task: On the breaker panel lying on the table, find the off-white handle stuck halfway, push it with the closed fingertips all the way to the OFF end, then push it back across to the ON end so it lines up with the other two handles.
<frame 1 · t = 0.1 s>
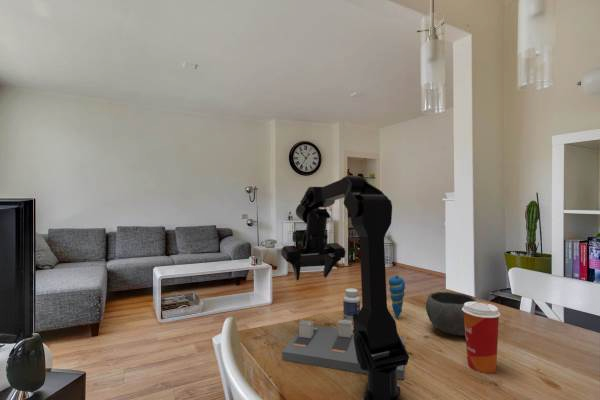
hand: (311, 278, 93), 15 cm above the table, tool pointing down, fingers open, 9 cm apart
breaker panel: (346, 351, 79), on the table
middle handle: (345, 328, 83), point 4 cm above the table, slide at 3.5 cm
bowl: (453, 332, 91), on the table
ornament: (397, 318, 101), on the table
tripped handle: (306, 329, 83), point 4 cm above the table, slide at 0.0 cm
pill bottle: (351, 320, 100), on the table
paper cup: (481, 367, 71), on the table
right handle: (383, 333, 80), point 4 cm above the table, slide at 3.5 cm
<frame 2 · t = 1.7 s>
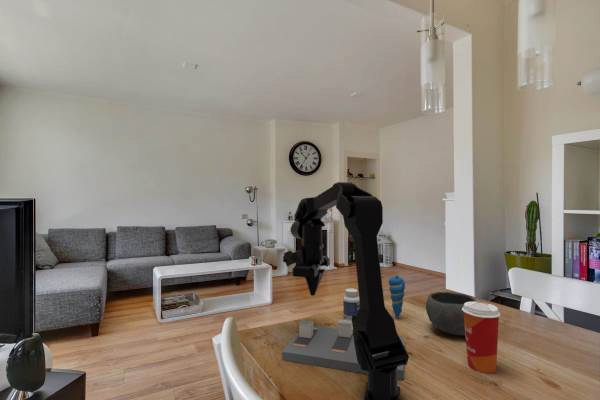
hand: (312, 295, 89), 11 cm above the table, tool pointing down, fingers closed
nothing on the table moved.
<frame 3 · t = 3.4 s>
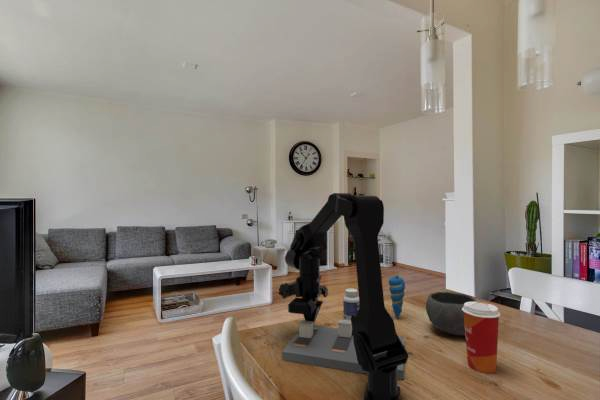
hand: (310, 329, 86), 3 cm above the table, tool pointing down, fingers closed
tripped handle: (306, 329, 83), point 4 cm above the table, slide at 0.0 cm, touching gripper
everything else where it was.
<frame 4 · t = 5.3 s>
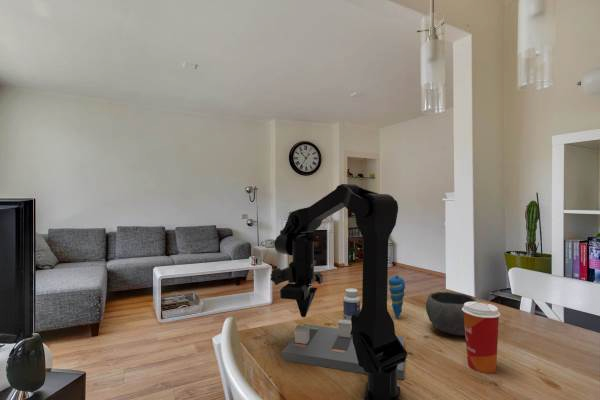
hand: (303, 316, 82), 8 cm above the table, tool pointing down, fingers closed
tripped handle: (302, 334, 80), point 4 cm above the table, slide at -3.6 cm
everything else where it was.
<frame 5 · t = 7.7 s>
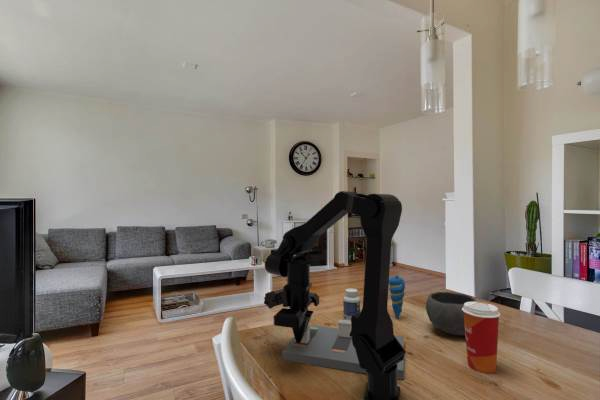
hand: (298, 342, 77), 3 cm above the table, tool pointing down, fingers closed
tripped handle: (302, 333, 80), point 4 cm above the table, slide at -3.2 cm, touching gripper
everything else where it was.
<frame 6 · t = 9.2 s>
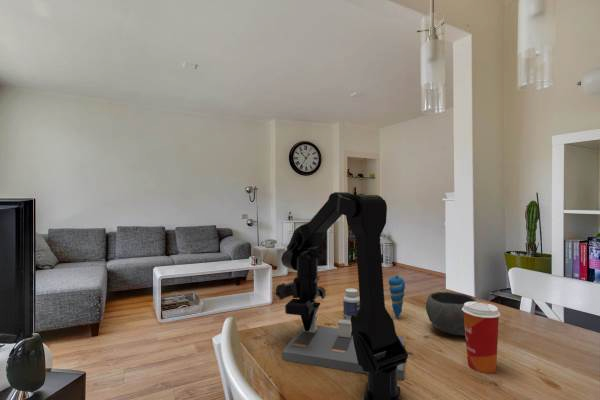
hand: (307, 331, 84), 3 cm above the table, tool pointing down, fingers closed
tripped handle: (310, 323, 87), point 4 cm above the table, slide at 3.8 cm, touching gripper
everything else where it was.
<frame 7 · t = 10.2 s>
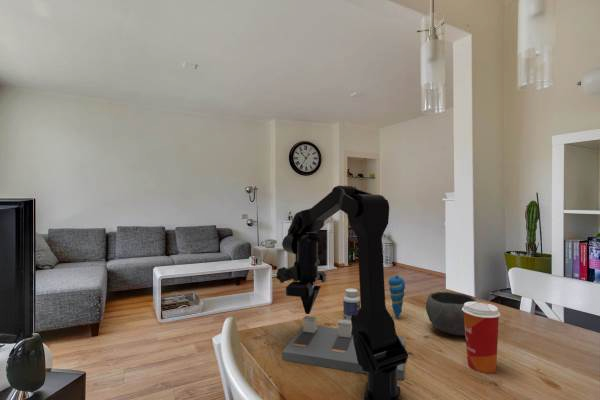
hand: (307, 313, 85), 7 cm above the table, tool pointing down, fingers closed
tripped handle: (310, 324, 87), point 4 cm above the table, slide at 3.6 cm
everything else where it was.
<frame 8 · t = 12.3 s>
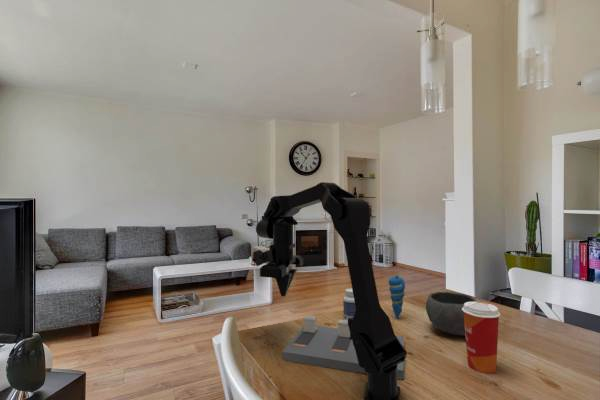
hand: (283, 296, 87), 12 cm above the table, tool pointing down, fingers closed
nothing on the table moved.
at the end: tripped handle slide at 3.6 cm; middle handle slide at 3.5 cm; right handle slide at 3.5 cm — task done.
